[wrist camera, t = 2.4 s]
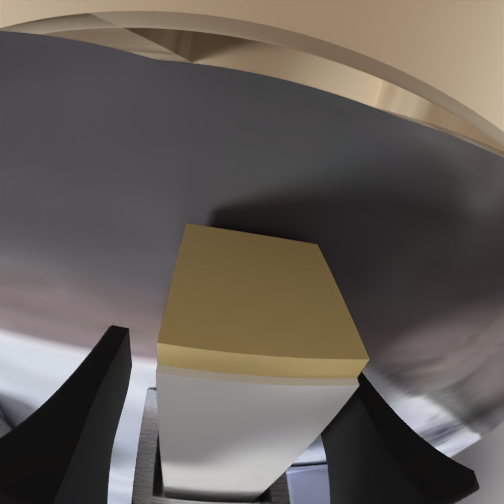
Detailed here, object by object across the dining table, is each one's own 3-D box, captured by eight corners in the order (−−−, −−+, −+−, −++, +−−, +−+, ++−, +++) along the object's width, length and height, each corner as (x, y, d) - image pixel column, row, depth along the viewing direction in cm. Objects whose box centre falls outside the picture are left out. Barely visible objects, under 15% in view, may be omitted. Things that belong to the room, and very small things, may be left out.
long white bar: (316, 241, 10) (372, 367, 5) (229, 455, 18) (232, 518, 14) (187, 220, 9) (155, 351, 5) (171, 450, 17) (167, 514, 13)
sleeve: (276, 401, 15) (292, 516, 9) (244, 458, 19) (249, 535, 14) (147, 388, 14) (131, 508, 8) (153, 450, 18) (147, 529, 12)
